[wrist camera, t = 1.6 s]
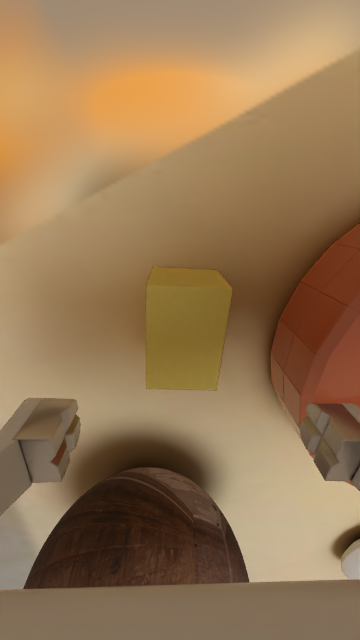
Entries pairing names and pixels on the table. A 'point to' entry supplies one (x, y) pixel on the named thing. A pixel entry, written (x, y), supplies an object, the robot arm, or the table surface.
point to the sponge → (185, 327)
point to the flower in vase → (351, 561)
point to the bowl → (321, 334)
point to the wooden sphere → (140, 536)
